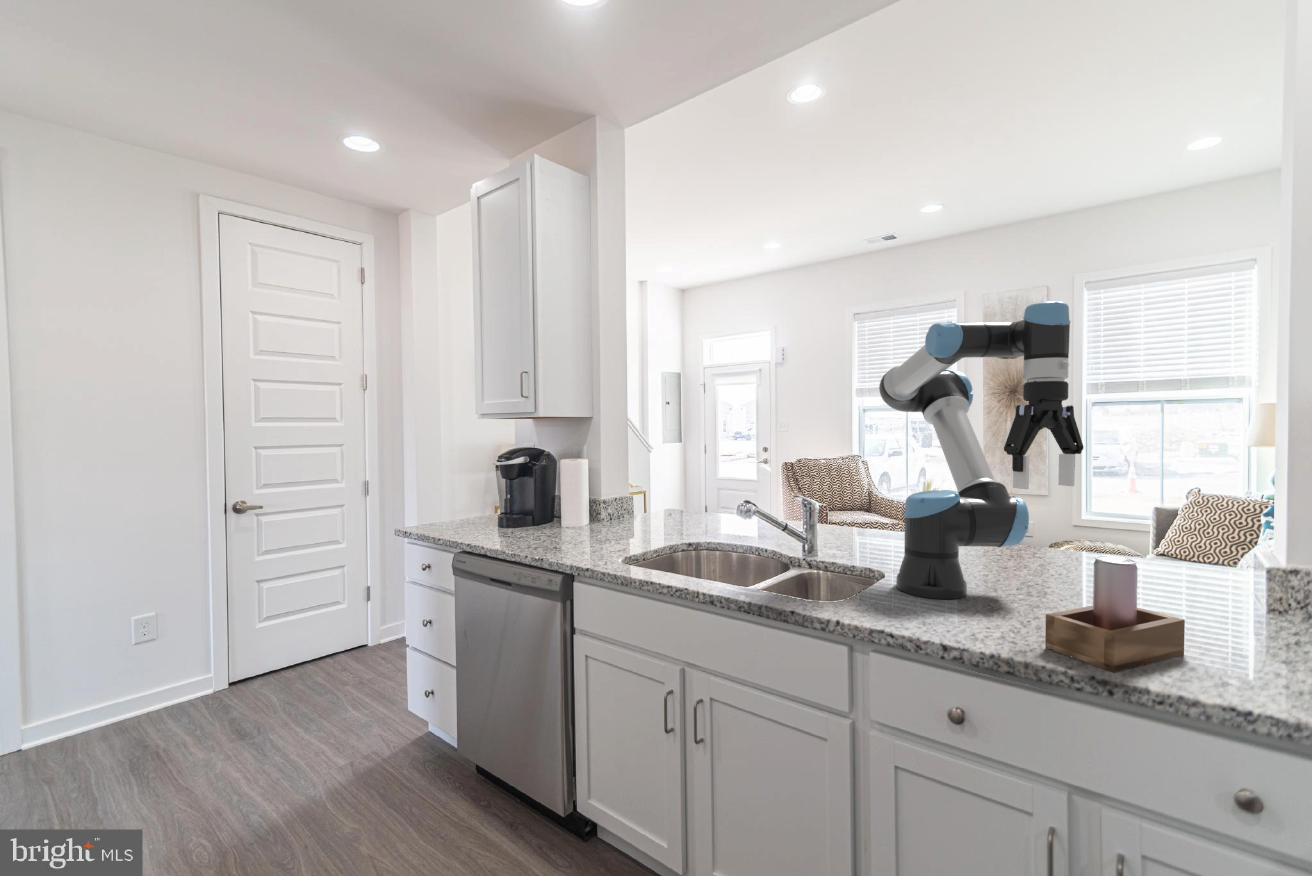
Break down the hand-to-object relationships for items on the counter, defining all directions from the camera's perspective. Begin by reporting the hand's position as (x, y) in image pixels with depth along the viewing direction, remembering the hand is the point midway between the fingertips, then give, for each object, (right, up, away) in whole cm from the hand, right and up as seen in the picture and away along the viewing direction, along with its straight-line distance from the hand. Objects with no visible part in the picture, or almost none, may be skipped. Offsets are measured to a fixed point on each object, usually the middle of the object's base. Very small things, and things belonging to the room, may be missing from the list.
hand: (1044, 487), depth 118 cm
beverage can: (+2, -26, -16) cm, 31 cm away
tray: (+1, -27, -16) cm, 32 cm away
